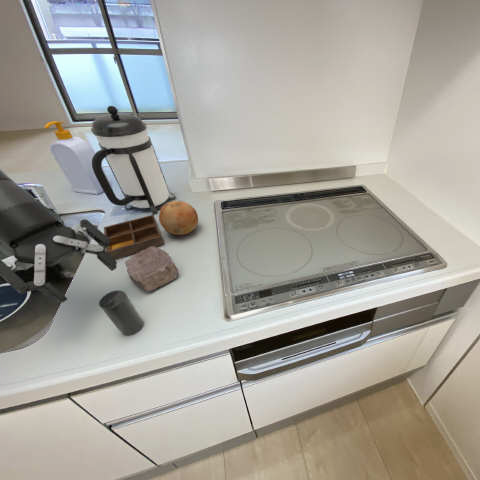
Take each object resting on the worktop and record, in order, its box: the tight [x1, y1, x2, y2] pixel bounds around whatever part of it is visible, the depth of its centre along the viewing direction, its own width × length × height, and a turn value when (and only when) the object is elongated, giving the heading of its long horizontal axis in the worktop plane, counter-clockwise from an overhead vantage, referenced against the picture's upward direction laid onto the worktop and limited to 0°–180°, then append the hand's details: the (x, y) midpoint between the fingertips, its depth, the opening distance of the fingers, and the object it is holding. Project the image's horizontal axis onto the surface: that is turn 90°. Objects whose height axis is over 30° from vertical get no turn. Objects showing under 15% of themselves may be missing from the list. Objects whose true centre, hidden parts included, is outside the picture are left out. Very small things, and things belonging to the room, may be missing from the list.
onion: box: [158, 200, 199, 236], centre depth 73 cm, size 10×10×10 cm
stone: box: [124, 246, 179, 292], centre depth 62 cm, size 12×9×5 cm
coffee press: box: [90, 105, 176, 215], centre depth 77 cm, size 17×16×30 cm
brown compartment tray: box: [103, 214, 166, 261], centre depth 72 cm, size 12×12×3 cm
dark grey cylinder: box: [98, 289, 145, 337], centre depth 49 cm, size 4×4×9 cm
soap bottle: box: [44, 120, 112, 195], centre depth 85 cm, size 9×7×23 cm
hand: (91, 283), depth 47 cm, fingers open, 8 cm apart
